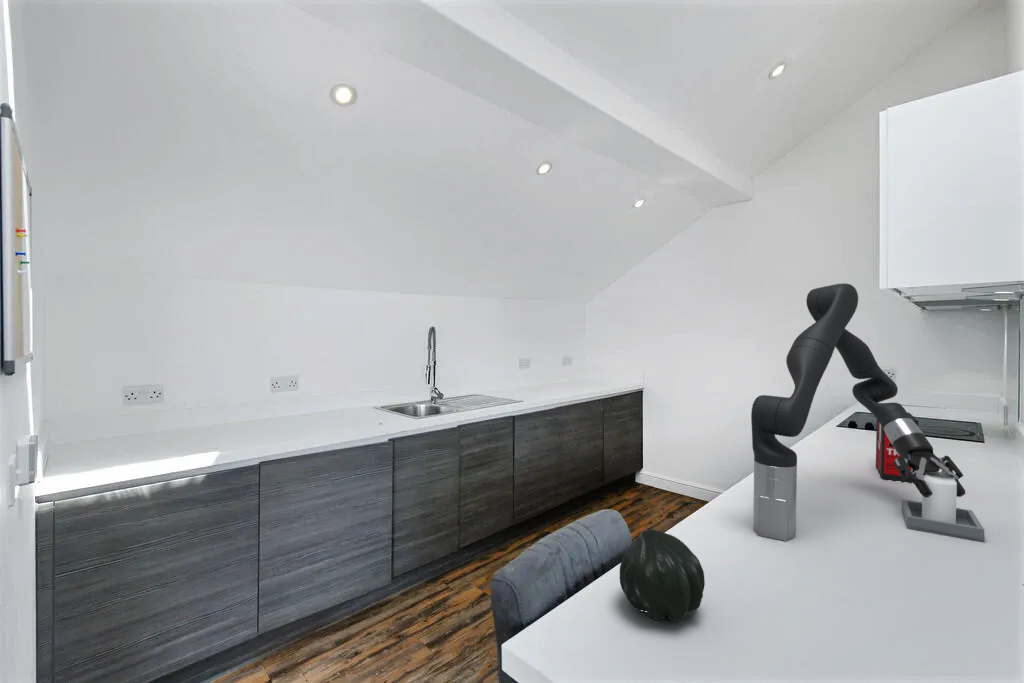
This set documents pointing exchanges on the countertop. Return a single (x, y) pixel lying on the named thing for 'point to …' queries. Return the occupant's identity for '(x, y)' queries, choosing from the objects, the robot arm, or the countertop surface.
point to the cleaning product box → (887, 455)
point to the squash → (661, 576)
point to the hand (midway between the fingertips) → (945, 495)
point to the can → (940, 497)
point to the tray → (963, 527)
